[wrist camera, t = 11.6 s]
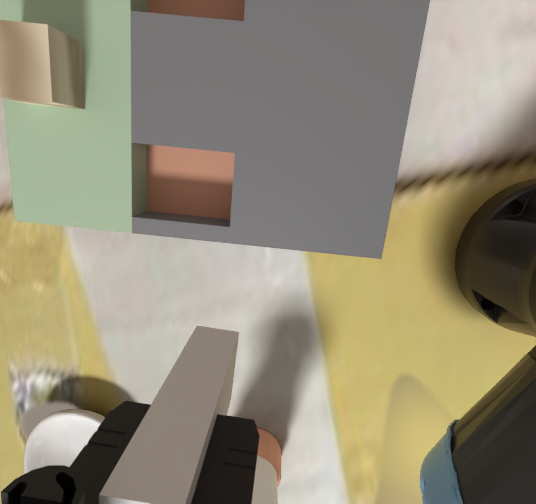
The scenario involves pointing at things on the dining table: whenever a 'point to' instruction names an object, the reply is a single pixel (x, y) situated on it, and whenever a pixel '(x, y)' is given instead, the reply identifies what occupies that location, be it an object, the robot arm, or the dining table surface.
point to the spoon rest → (60, 438)
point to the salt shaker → (267, 469)
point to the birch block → (40, 65)
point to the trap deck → (223, 120)
